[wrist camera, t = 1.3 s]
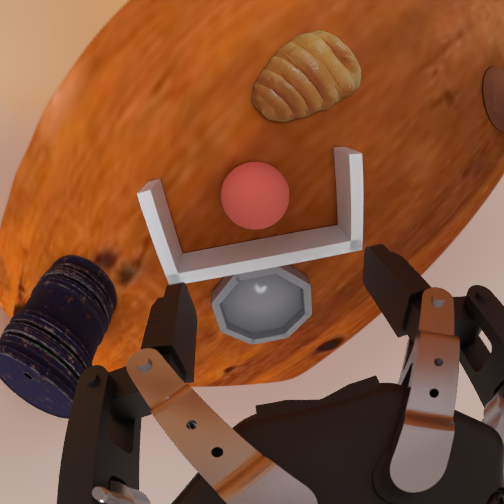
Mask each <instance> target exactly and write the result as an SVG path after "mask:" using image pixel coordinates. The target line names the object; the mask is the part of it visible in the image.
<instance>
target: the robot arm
mask: <svg viewBox="0 0 504 504" xmlns="http://www.w3.org/2000/svg"><path fill="white" fill-rule="evenodd" d="M483 95H484V102H485V106H486V110H487V113H488V116H489V118H490V120H491V122H492V123H493V125H494V126H495V127H496V128H497V129H499V130H501V131H504V68H499V67H491V68H489V69H488V70H487V71H486V73H485V76H484V81H483ZM363 281H364V285H365V287H366V289H367V290H368V292H369V293H370V295H371V296H372V298H373V299H374V301H375V302H376V304H377V305H378V307H379V308H380V310H381V312H382V313H383V315H384V316H385V318H386V319H387V321H388V322H389V324H390V326H391V327H392V329H393V330H394V332H395V334H396V335H397V337H401V336H404V335H408V336H409V340H408V343H407V348H406V353H405V358H404V362H403V367H402V371H401V375H400V379H399V382H398V384H394V383H379V381H378V379H377V377H376V376H373V377H370V378H367V379H364V380H361V381H358V382H355V383H352V384H349V385H347V386H346V387H343V388H342V389H340V390H338V391H336V392H334V393H332V394H330V395H329V396H327V397H325V398H323V399H320V400H284V401H279V402H274V403H268V404H262V405H257V406H256V412H257V414H254V415H252V416H250V417H248V418H246V419H244V420H243V421H241V422H240V423H238V424H237V425H236V426H235V427H233V428H231V427H230V426H229V425H228V424H227V423H226V422H225V421H224V420H223V419H222V418H221V417H220V416H219V415H218V414H217V413H216V412H214V411H213V409H212V408H211V407H210V406H208V405H207V403H206V402H205V401H204V400H203V399H202V398H201V397H200V396H199V395H198V394H197V393H196V392H195V391H194V390H193V389H192V388H191V387H190V386H189V385H188V384H187V385H186V384H185V383H191V382H194V365H195V348H196V332H197V315H196V310H195V307H194V305H193V302H192V300H191V297H190V294H189V292H188V289H187V286H186V284H185V283H184V282H181V283H176V284H170V285H167V287H166V291H165V295H164V297H162V298H158V299H157V300H156V302H155V303H154V304H153V306H152V307H151V311H150V315H149V316H150V317H149V318H148V322H147V323H148V324H147V326H146V330H145V334H144V337H143V342H142V346H141V350H139V351H137V352H135V353H134V354H133V355H132V356H131V357H130V358H129V360H128V362H127V366H126V367H123V368H120V369H117V370H114V371H111V372H109V373H108V371H107V370H106V369H105V368H104V367H103V366H99V365H95V366H91V367H89V368H87V369H86V370H85V371H84V372H83V373H82V374H81V376H80V378H79V381H78V384H77V388H76V392H75V395H74V399H73V403H72V408H71V412H70V416H69V421H68V425H67V431H66V436H65V441H64V447H63V453H62V460H61V467H60V475H59V485H58V496H57V497H58V498H57V504H150V501H149V499H148V498H147V497H146V495H145V494H144V493H142V492H141V491H139V451H140V450H139V449H140V431H141V430H140V429H141V417H144V416H148V415H150V414H153V416H154V417H155V419H156V420H157V422H158V423H159V424H160V426H161V427H162V429H163V430H164V431H165V433H166V434H167V435H168V436H169V438H170V439H171V440H172V442H174V444H175V445H176V447H177V448H178V449H179V450H180V452H181V453H182V454H183V455H184V456H185V458H186V459H187V460H188V461H189V462H190V463H191V464H192V466H193V467H194V468H195V469H196V470H197V471H198V473H197V474H196V475H195V476H194V478H193V479H192V480H191V481H190V482H189V484H188V485H187V486H186V487H185V489H184V490H183V491H182V492H181V493H180V494H179V496H178V497H177V498H176V499H175V500H174V501H173V502H172V504H504V473H503V470H504V306H503V305H502V304H501V302H500V301H499V300H498V299H497V298H496V297H495V296H494V294H493V293H492V292H491V291H490V290H489V289H487V288H485V287H483V286H480V285H474V286H472V287H470V288H469V290H468V292H467V295H466V296H464V297H452V296H451V294H450V293H449V292H447V291H446V290H444V289H441V288H436V287H433V288H431V287H430V286H429V284H428V283H427V282H426V281H425V280H424V279H423V278H422V277H421V276H420V275H419V274H418V272H417V271H416V270H414V268H413V267H412V266H411V265H409V263H408V262H407V261H406V260H405V259H404V258H403V257H402V256H400V255H398V254H396V253H394V252H392V253H391V252H390V251H389V250H388V249H387V248H386V247H385V246H384V245H383V244H377V245H373V246H368V247H366V248H365V255H364V269H363ZM481 330H482V331H483V332H484V333H485V335H486V336H487V338H488V339H489V340H490V342H491V345H492V352H491V353H490V352H489V350H488V349H487V347H486V346H485V344H484V343H483V341H482V340H481V338H480V337H479V334H480V332H481ZM459 361H460V363H461V364H462V366H463V368H464V370H465V371H466V373H467V375H468V377H469V379H470V381H471V382H472V384H473V386H474V388H475V390H476V392H477V394H478V396H479V398H480V400H481V402H482V404H483V406H484V408H485V409H484V418H483V420H482V422H481V421H478V420H476V419H474V418H471V417H469V416H467V415H465V414H463V413H461V412H458V411H456V410H454V409H455V402H456V394H457V385H458V373H459Z"/></svg>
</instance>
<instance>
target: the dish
mask: <svg viewBox="0 0 504 504" xmlns="http://www.w3.org/2000/svg"><path fill="white" fill-rule="evenodd" d="M211 305H212V308H213V311H214V314H215V317H216V319H217V322H218V325H219V328H220V331H221V332H222V333H225V334H227V335H230V336H232V337H234V338H237V339H239V340H242V341H244V342H247V343H249V344H258V343H263V342H269V341H274V340H279V339H284V338H287V337H289V336H290V335H291V334H292V333H293V332H294V331H295V330H296V329H298V328H299V327H300V326H301V325H302V324H303V323H304V322H305V321H306V320H307V319H308V318H309V317H310V316H311V314H312V304H311V285H310V283H309V280H308V278H307V276H306V275H305V274H303V273H302V272H300V271H298V270H297V269H295V268H293V267H292V266H290V265H284V266H278V267H273V268H268V269H263V270H257V271H252V272H247V273H241V274H236V275H230V276H225V277H224V278H223V279H222V280H221V282H220V283H219V284H218V285H217V287H216V288H215V289H214V291H213V292H212V300H211Z"/></svg>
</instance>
